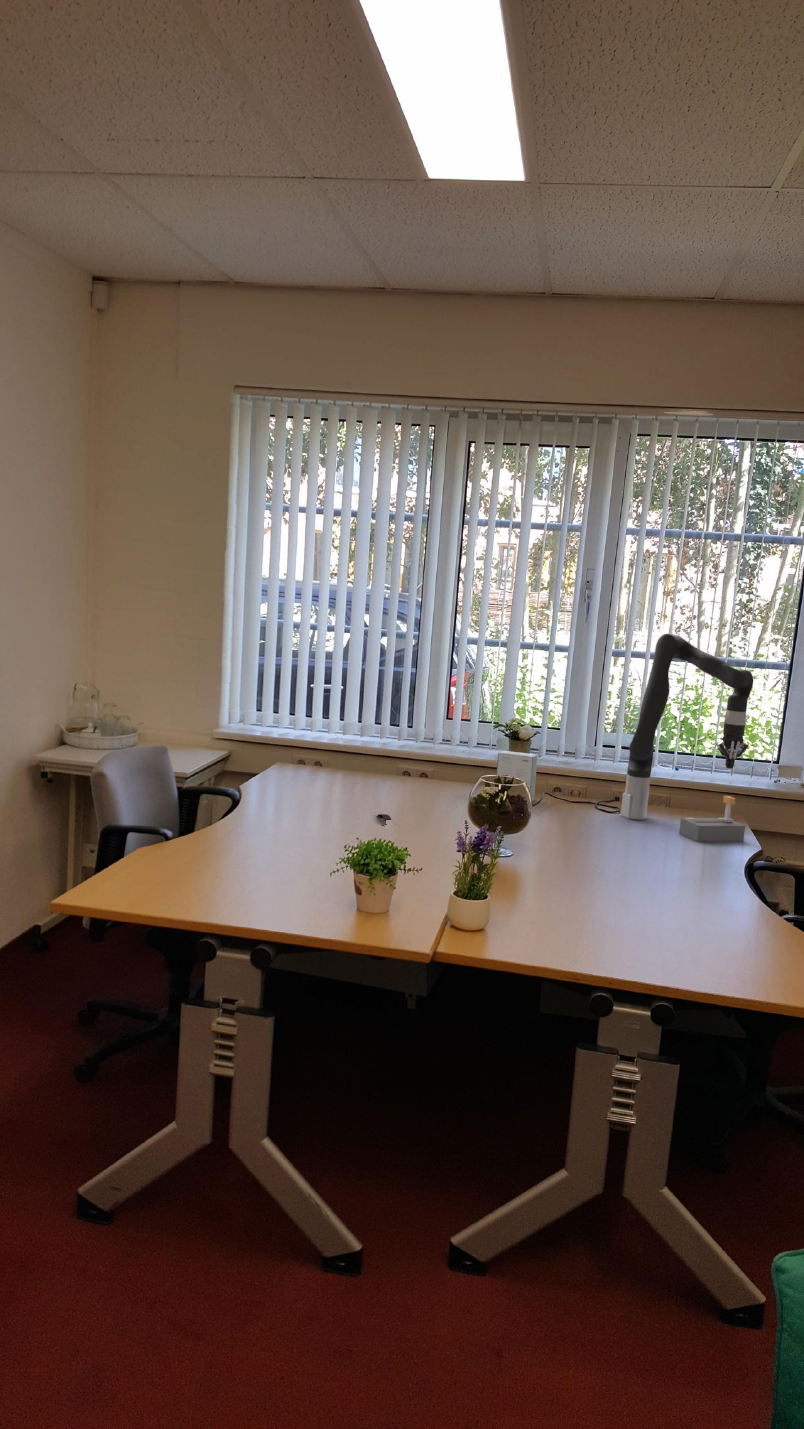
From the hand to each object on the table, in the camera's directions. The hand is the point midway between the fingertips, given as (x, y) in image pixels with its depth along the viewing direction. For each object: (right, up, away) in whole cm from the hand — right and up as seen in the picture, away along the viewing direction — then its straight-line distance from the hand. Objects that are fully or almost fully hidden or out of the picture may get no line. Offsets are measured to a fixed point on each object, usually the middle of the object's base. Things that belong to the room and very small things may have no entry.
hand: (729, 768), depth 364 cm
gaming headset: (-130, -20, -11) cm, 132 cm away
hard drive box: (-76, -16, +44) cm, 89 cm away
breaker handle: (0, -20, +3) cm, 21 cm away
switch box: (-6, -26, +2) cm, 27 cm away
